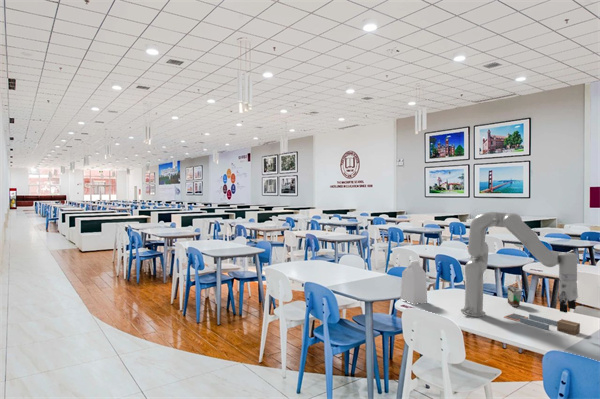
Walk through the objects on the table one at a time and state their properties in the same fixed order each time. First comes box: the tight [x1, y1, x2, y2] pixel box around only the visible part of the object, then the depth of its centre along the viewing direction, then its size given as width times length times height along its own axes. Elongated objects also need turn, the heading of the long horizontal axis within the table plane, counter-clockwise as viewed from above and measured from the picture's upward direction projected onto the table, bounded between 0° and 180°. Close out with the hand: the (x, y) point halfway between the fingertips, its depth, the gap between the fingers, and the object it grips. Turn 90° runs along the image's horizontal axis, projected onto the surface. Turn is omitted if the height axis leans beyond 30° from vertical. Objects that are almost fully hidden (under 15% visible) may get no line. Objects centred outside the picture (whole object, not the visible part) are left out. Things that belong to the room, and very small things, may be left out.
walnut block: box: [556, 318, 581, 336], centre depth 197 cm, size 6×8×5 cm
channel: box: [519, 313, 557, 331], centre depth 208 cm, size 11×14×2 cm
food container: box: [506, 286, 522, 308], centre depth 241 cm, size 12×6×10 cm, turn 168°
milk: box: [399, 260, 428, 305], centre depth 247 cm, size 12×12×26 cm
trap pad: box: [503, 312, 529, 322], centre depth 218 cm, size 11×8×1 cm
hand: (567, 310), depth 196 cm, fingers open, 9 cm apart
